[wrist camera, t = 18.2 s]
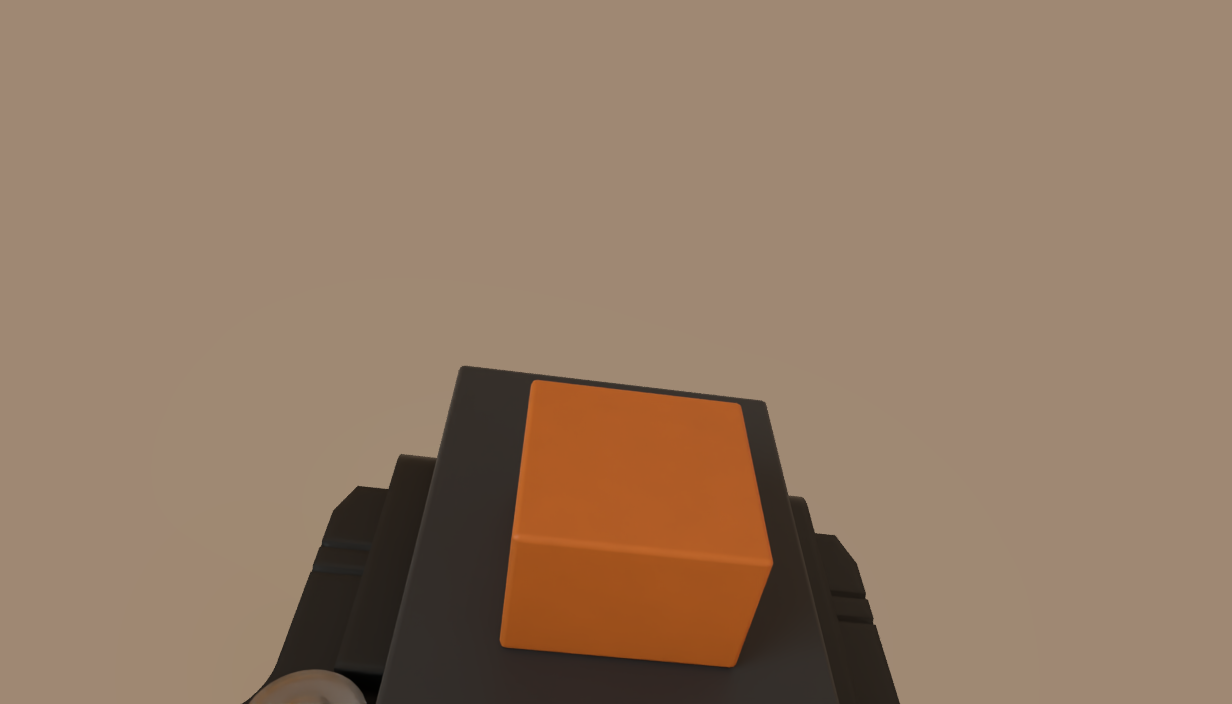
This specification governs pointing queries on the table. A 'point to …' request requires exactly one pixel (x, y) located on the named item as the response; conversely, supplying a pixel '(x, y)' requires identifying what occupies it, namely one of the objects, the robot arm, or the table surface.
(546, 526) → the tall dark pillar
